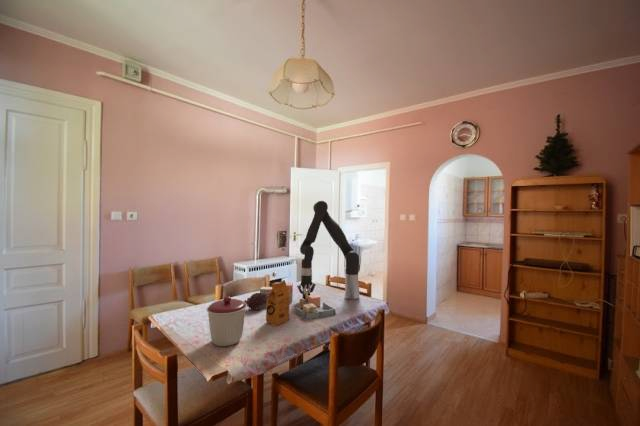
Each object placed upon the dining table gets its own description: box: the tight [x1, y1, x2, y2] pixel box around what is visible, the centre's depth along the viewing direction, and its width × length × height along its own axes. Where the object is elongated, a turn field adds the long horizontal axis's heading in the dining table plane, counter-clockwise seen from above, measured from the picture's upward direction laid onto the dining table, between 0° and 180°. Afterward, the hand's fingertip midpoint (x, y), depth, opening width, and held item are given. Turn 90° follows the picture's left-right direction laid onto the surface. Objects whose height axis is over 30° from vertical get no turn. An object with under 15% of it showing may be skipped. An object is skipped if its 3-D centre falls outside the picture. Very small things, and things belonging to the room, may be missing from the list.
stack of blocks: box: [259, 282, 294, 304], centre depth 187 cm, size 21×6×12 cm, turn 89°
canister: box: [205, 295, 248, 347], centre depth 129 cm, size 18×18×21 cm
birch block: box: [298, 298, 318, 314], centre depth 167 cm, size 6×16×6 cm, turn 28°
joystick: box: [304, 290, 321, 308], centre depth 184 cm, size 6×16×6 cm, turn 27°
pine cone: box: [243, 292, 268, 311], centre depth 172 cm, size 18×10×10 cm, turn 132°
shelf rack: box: [295, 302, 336, 321], centre depth 167 cm, size 20×14×3 cm
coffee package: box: [265, 279, 291, 326], centre depth 153 cm, size 10×12×22 cm
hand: (306, 298), depth 190 cm, fingers closed on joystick, 2 cm apart
